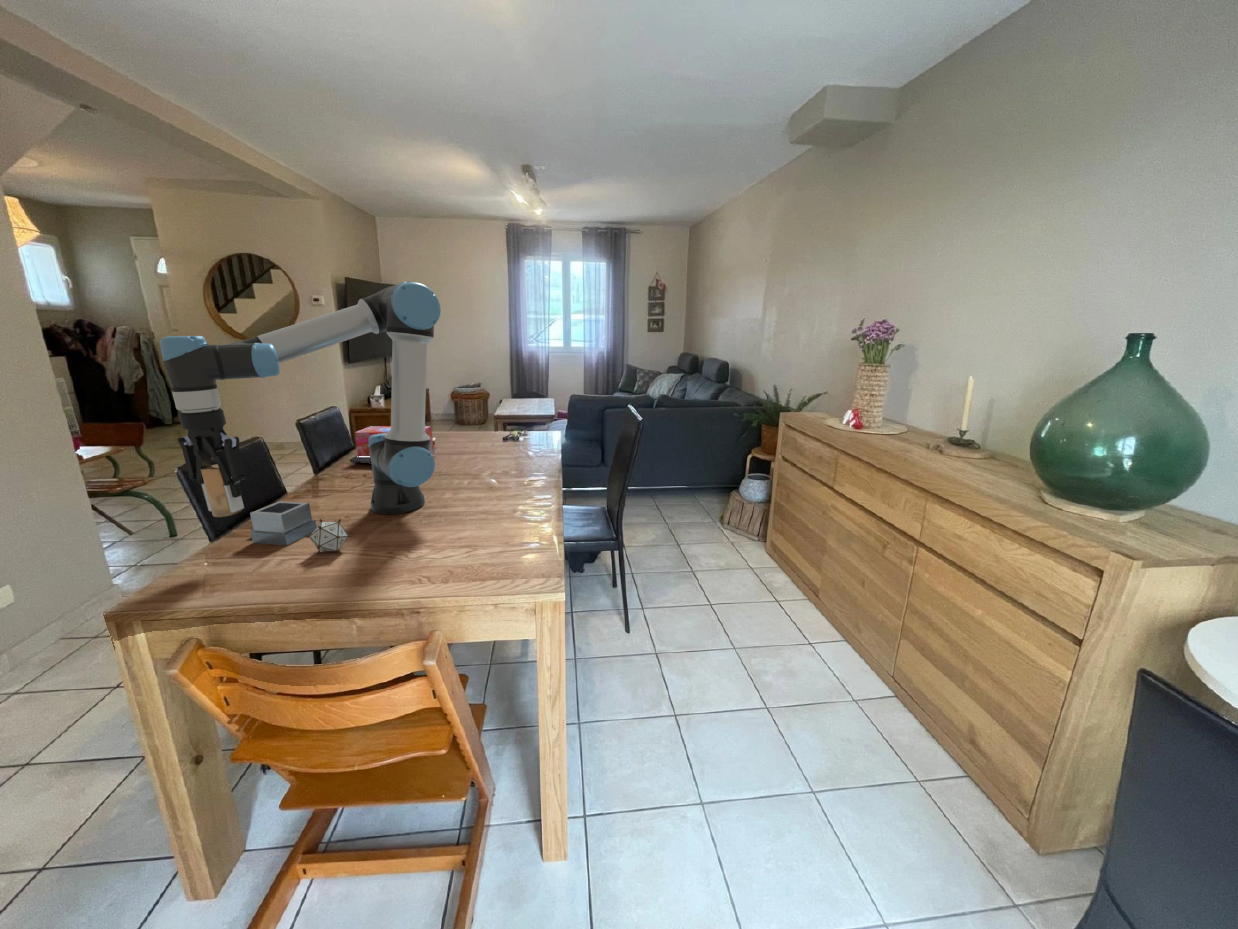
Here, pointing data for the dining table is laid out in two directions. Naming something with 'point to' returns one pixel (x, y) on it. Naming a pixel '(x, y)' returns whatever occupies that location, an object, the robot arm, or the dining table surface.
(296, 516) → the open rectangular container
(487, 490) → the dining table surface
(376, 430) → the box
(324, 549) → the game die
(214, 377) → the robot arm
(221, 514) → the gold metallic cylinder
